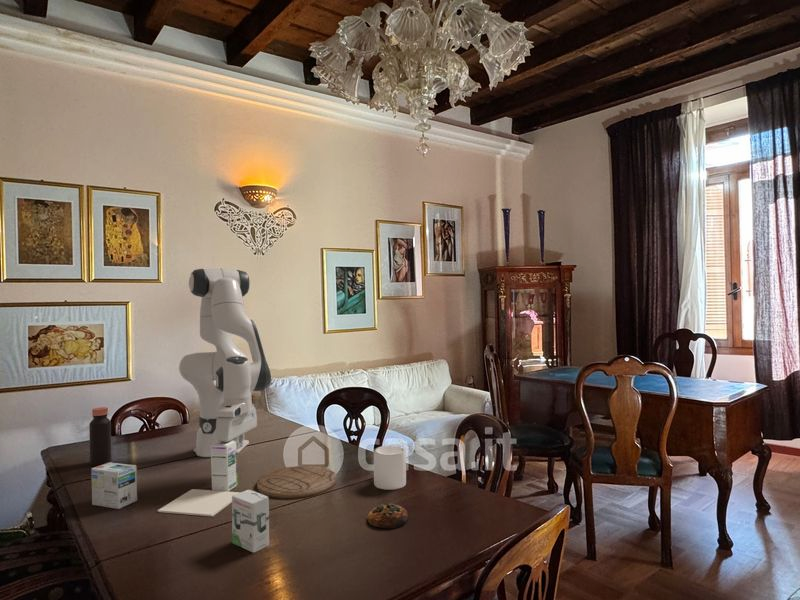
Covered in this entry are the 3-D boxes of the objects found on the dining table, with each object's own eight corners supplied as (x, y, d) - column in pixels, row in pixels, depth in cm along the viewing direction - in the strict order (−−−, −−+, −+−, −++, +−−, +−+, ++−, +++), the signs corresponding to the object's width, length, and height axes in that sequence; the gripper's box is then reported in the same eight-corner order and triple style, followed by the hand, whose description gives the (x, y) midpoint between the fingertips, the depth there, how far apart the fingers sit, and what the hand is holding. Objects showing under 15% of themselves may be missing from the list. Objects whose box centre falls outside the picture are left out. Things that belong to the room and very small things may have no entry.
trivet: (298, 466, 180) (298, 461, 179) (352, 480, 165) (352, 474, 165) (240, 488, 159) (240, 482, 159) (295, 506, 145) (295, 500, 145)
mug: (367, 477, 167) (366, 444, 167) (396, 473, 171) (395, 441, 171) (379, 491, 154) (379, 456, 154) (410, 486, 158) (410, 452, 158)
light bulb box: (138, 500, 150) (137, 464, 150) (118, 509, 143) (118, 472, 143) (110, 496, 153) (110, 461, 153) (90, 505, 147) (90, 468, 147)
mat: (192, 490, 157) (192, 489, 157) (242, 494, 153) (242, 492, 153) (157, 512, 141) (157, 510, 141) (212, 516, 138) (212, 514, 138)
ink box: (230, 543, 122) (230, 495, 122) (247, 535, 126) (247, 488, 126) (253, 553, 117) (252, 503, 117) (270, 545, 121) (269, 496, 121)
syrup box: (228, 492, 155) (227, 445, 155) (210, 491, 156) (210, 444, 156) (237, 485, 161) (237, 440, 161) (221, 484, 162) (220, 439, 162)
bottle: (85, 464, 183) (84, 409, 183) (102, 459, 190) (102, 406, 190) (98, 466, 181) (97, 411, 181) (115, 461, 187) (114, 407, 187)
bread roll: (394, 533, 127) (392, 512, 127) (359, 528, 133) (357, 509, 133) (416, 518, 136) (414, 499, 137) (383, 515, 142) (381, 496, 143)
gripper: (244, 399, 178) (245, 439, 178) (211, 412, 158) (212, 456, 158) (261, 400, 176) (261, 439, 176) (230, 413, 156) (230, 458, 156)
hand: (238, 448), depth 167 cm, fingers closed
